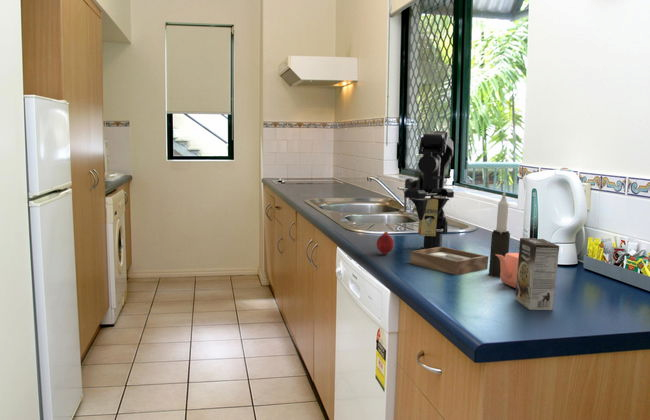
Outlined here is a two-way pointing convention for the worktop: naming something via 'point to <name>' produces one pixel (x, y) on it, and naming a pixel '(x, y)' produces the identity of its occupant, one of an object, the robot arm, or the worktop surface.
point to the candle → (499, 238)
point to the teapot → (509, 268)
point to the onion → (385, 243)
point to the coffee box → (536, 273)
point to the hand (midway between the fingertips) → (427, 219)
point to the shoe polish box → (429, 218)
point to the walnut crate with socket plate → (449, 260)
